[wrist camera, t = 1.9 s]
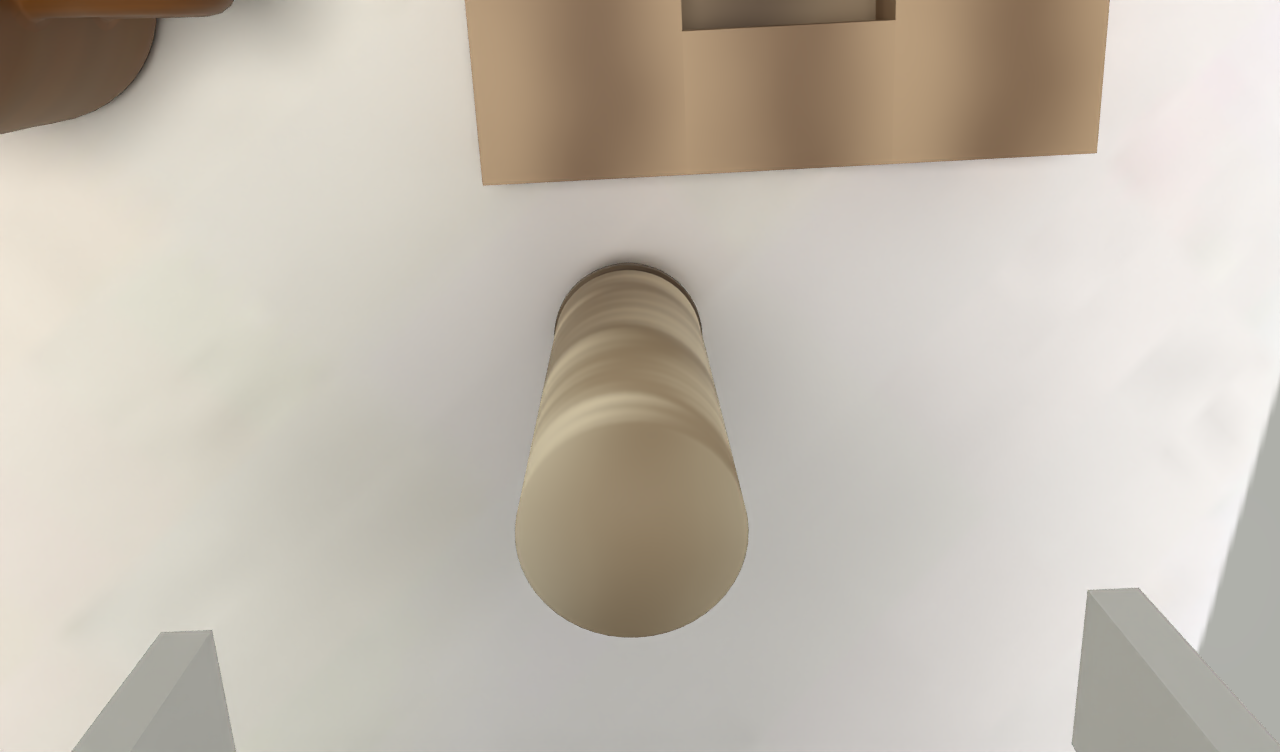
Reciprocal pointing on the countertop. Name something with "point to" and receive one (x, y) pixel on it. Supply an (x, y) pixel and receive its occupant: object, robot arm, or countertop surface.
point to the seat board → (778, 84)
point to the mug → (76, 53)
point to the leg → (630, 463)
